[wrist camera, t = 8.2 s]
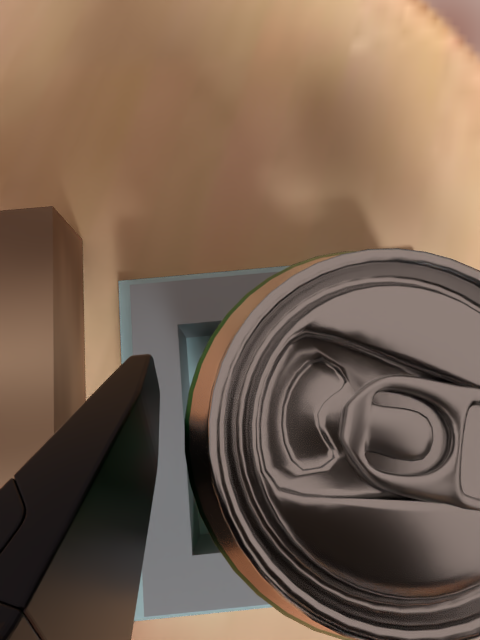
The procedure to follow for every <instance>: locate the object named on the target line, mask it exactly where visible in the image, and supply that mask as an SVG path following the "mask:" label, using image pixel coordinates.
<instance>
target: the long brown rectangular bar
mask: <svg viewBox="0 0 480 640" xmlns="http://www.w3.org/2000/svg"><path fill="white" fill-rule="evenodd" d="M85 402H86V400H85V351H84V303H83V255H82V239H81V238H80V237H79V235H78V234H77V233H76V232H75V231H74V230H73V229H72V228H71V226H70V225H69V224H68V223H67V222H66V221H65V220H64V219H63V217H62V216H61V215H60V214H59V213H58V212H57V211H56V210H55V208H54V207H53V206H51V207H39V208H27V209H16V210H4V211H0V488H1V487H2V486H3V485H4V484H5V483H6V482H7V481H8V480H9V479H10V478H13V479H14V474H15V473H16V472H17V471H18V470H19V469H20V468H21V467H22V466H23V465H24V464H25V463H26V462H27V461H28V460H29V459H30V458H31V457H32V456H33V455H34V454H35V453H36V452H37V451H38V450H39V449H40V448H41V447H42V446H43V444H44V443H45V442H46V441H47V440H48V439H49V438H50V437H51V436H52V435H53V434H54V433H55V432H56V431H57V430H58V429H59V428H60V427H61V426H62V425H63V424H64V423H65V422H66V421H67V420H68V419H69V418H70V417H71V416H72V415H73V414H74V413H75V412H76V411H77V410H78V409H79V408H80V407H81V406H82V405H83V404H84V403H85ZM14 480H15V479H14Z"/></svg>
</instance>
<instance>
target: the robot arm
mask: <svg viewBox="0 0 480 640" xmlns="http://www.w3.org/2000/svg"><path fill="white" fill-rule="evenodd" d="M159 418H160V389H159V383H158V378H157V373H156V369H155V364H154V359H153V357H152V356H151V355H150V354H142V355H132V356H130V357H129V358H128V359H127V360H126V361H125V362H124V363H123V364H122V365H121V366H120V367H119V368H118V369H117V370H116V371H115V372H114V373H113V374H112V375H111V376H110V377H109V378H108V379H107V380H106V381H105V382H104V383H103V384H102V385H101V386H100V387H99V388H98V389H97V390H96V391H95V392H94V393H93V394H92V395H91V396H90V397H89V398H88V400H87V401H86V402H85V403H84V404H83V405H82V406H81V407H80V408H79V409H78V410H77V411H76V412H75V413H74V414H73V415H72V416H71V417H70V418H69V419H68V420H67V421H66V422H65V423H64V424H63V425H62V426H61V427H60V428H59V429H58V430H57V431H56V432H55V433H54V434H53V435H52V436H51V437H50V438H49V439H48V440H47V441H46V442H45V443H44V444H43V446H42V447H41V448H40V449H39V450H38V451H37V452H36V453H35V454H34V455H33V456H32V457H31V458H30V459H29V460H28V461H27V462H26V463H25V464H24V465H23V466H22V467H21V468H20V469H19V470H18V471H17V472H16V473H15V474H14V479H15V480H14V479H13V478H10V479H9V480H8V481H7V482H6V483H5V484H4V485H3V486H2V487H1V488H0V640H131V636H132V630H133V623H134V617H135V611H136V604H137V598H138V591H139V585H140V579H141V572H142V566H143V559H144V553H145V547H146V540H147V534H148V528H149V521H150V515H151V508H152V502H153V496H154V489H155V483H156V476H157V468H158V454H159Z"/></svg>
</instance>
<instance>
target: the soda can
mask: <svg viewBox="0 0 480 640" xmlns="http://www.w3.org/2000/svg"><path fill="white" fill-rule="evenodd" d="M184 432H185V457H186V464H187V470H188V476H189V483H190V486H191V489H192V492H193V495H194V498H195V502H196V505H197V508H198V511H199V514H200V516H201V518H202V520H203V522H204V524H205V526H206V528H207V530H208V532H209V534H210V536H211V538H212V540H213V542H214V544H215V545H216V547H217V548H218V550H219V551H220V552H221V554H222V555H223V557H224V558H225V560H226V561H227V562H228V564H229V565H230V567H231V568H232V569H233V571H234V572H235V573H236V574H237V575H238V576H239V577H240V578H241V579H242V580H243V581H244V582H245V583H246V584H247V585H248V586H249V587H250V588H251V589H252V590H253V591H254V592H255V593H256V594H257V595H258V596H259V597H260V598H262V599H263V600H264V601H266V602H267V603H268V604H270V605H271V606H272V607H274V608H275V609H276V610H278V611H279V612H280V613H282V614H283V615H285V616H287V617H289V618H291V619H293V620H294V621H296V622H298V623H300V624H302V625H304V626H306V627H308V628H310V629H312V630H314V631H317V632H320V633H323V634H326V635H329V636H333V637H336V638H339V639H342V640H480V271H479V270H477V269H474V268H472V267H470V266H467V265H465V264H463V263H460V262H458V261H456V260H453V259H450V258H446V257H443V256H439V255H435V254H432V253H428V252H423V251H415V250H406V249H398V248H394V249H368V250H362V251H350V252H339V253H334V254H328V255H323V256H317V257H314V258H311V259H308V260H305V261H303V262H300V263H297V264H294V265H291V266H289V267H287V268H285V269H284V270H282V271H280V272H278V273H276V274H274V275H272V276H270V277H268V278H267V279H266V280H264V281H263V282H262V283H260V284H259V285H258V286H256V287H255V288H254V289H252V290H251V291H249V292H248V293H247V294H246V295H245V296H244V297H243V298H242V299H241V300H240V301H239V302H238V303H237V304H236V305H235V306H234V307H233V308H232V309H231V310H230V311H229V312H228V313H227V314H226V316H225V317H224V318H223V320H222V321H221V323H220V324H219V325H218V327H217V328H216V330H215V331H214V333H213V334H212V335H211V337H210V339H209V341H208V343H207V345H206V347H205V349H204V351H203V353H202V355H201V357H200V359H199V361H198V363H197V367H196V370H195V373H194V376H193V379H192V383H191V386H190V389H189V393H188V400H187V407H186V414H185V420H184Z"/></svg>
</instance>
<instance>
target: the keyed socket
mask: <svg viewBox="0 0 480 640" xmlns="http://www.w3.org/2000/svg"><path fill="white" fill-rule="evenodd" d="M287 267H289V266H281V267H270V268H258V269H247V270H236V271H225V272H213V273H202V274H191V275H180V276H168V277H157V278H146V279H135V280H123V281H118V283H119V309H120V336H121V362H122V364H123V363H124V362H125V361H126V360H127V359H128V358H129V357H130V356H132V355H142V354H150V355H151V356H152V357H153V359H154V364H155V369H156V373H157V378H158V383H159V389H160V418H159V454H158V468H157V476H156V483H155V489H154V496H153V502H152V508H151V515H150V521H149V528H148V534H147V540H146V547H145V553H144V559H143V566H142V572H141V579H140V585H139V591H138V598H137V604H136V611H135V617H134V621H140V620H150V619H160V618H170V617H180V616H190V615H200V614H210V613H219V612H229V611H239V610H249V609H259V608H269V607H272V606H271V605H270V604H268V603H267V602H266V601H264V600H263V599H262V598H260V597H259V596H258V595H257V594H256V593H255V592H254V591H253V590H252V589H251V588H250V587H249V586H248V585H247V584H246V583H245V582H244V581H243V580H242V579H241V578H240V577H239V576H238V575H237V574H236V573H235V572H234V571H233V569H232V568H231V567H230V565H229V564H228V562H227V561H226V560H225V558H224V557H223V555H222V554H221V552H220V551H219V550H218V548H217V547H216V545H215V544H214V542H213V540H212V538H211V536H210V534H209V532H208V530H207V528H206V526H205V524H204V522H203V520H202V518H201V516H200V514H199V511H198V508H197V505H196V502H195V498H194V495H193V492H192V489H191V486H190V483H189V476H188V470H187V464H186V457H185V432H184V420H185V414H186V407H187V400H188V393H189V389H190V386H191V383H192V379H193V376H194V373H195V370H196V367H197V363H198V361H199V359H200V357H201V355H202V353H203V351H204V349H205V347H206V345H207V343H208V341H209V339H210V337H211V335H212V334H213V333H214V331H215V330H216V328H217V327H218V325H219V324H220V323H221V321H222V320H223V318H224V317H225V316H226V314H227V313H228V312H229V311H230V310H231V309H232V308H233V307H234V306H235V305H236V304H237V303H238V302H239V301H240V300H241V299H242V298H243V297H244V296H245V295H246V294H247V293H248V292H249V291H251V290H252V289H254V288H255V287H256V286H258V285H259V284H260V283H262V282H263V281H264V280H266V279H267V278H268V277H270V276H272V275H274V274H276V273H278V272H280V271H282V270H284V269H285V268H287Z"/></svg>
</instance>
